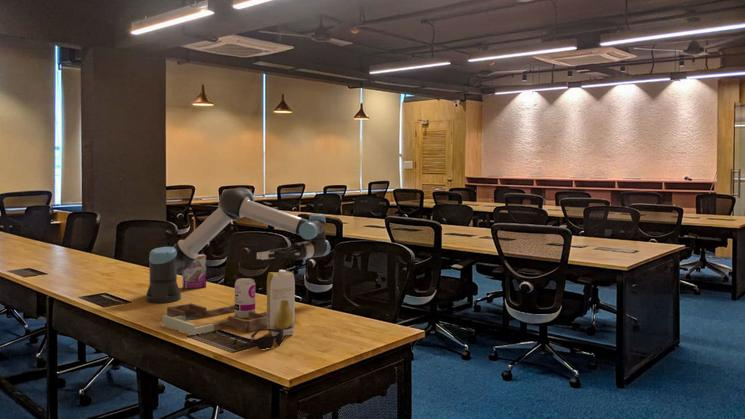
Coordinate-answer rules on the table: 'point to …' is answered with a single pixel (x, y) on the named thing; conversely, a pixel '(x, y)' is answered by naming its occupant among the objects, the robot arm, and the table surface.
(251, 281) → the supplement can
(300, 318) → the table surface
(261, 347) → the sunglasses
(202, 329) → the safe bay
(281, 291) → the juice carton
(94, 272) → the table surface
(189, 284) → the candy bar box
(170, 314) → the brown shallow tray
